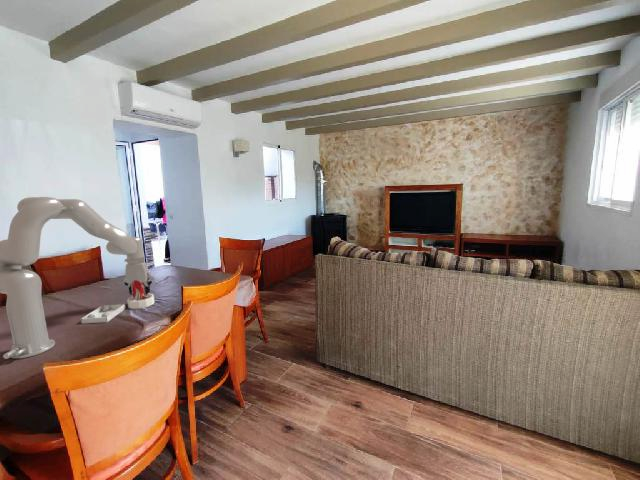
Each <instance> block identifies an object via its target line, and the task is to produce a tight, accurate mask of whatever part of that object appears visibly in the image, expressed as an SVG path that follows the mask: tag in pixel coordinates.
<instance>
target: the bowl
mask: <svg viewBox="0 0 640 480" xmlns="http://www.w3.org/2000/svg"><path fill="white" fill-rule="evenodd" d="M126 300H127V301H126V302H127V306H128V307H127V308H128V309H133V310H136V309H143V308H146V307H150V306H152V305H153V304H154V303H155V295H154V293H150V292H149V293H148V297H147V298H146V299H144V300H140V301H136V300H134V299H133V296H132V295H131V296H129V297H128V298H127V299H126Z"/></svg>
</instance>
